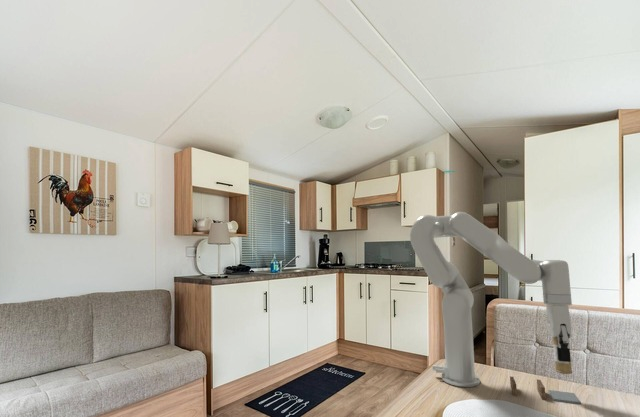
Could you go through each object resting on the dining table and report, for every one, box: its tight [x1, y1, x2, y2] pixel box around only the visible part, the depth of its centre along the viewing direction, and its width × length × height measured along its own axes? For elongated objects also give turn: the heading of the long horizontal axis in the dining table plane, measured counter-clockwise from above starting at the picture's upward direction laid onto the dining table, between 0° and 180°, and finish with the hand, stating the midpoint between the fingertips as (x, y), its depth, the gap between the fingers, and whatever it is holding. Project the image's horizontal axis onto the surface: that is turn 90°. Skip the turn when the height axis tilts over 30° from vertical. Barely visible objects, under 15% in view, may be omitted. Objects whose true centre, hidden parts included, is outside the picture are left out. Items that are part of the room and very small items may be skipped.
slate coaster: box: [547, 389, 582, 405], centre depth 111 cm, size 7×7×1 cm
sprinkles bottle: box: [552, 332, 573, 375], centre depth 112 cm, size 5×5×13 cm
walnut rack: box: [509, 376, 547, 401], centre depth 115 cm, size 9×7×4 cm
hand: (562, 358), depth 112 cm, fingers closed on sprinkles bottle, 4 cm apart
